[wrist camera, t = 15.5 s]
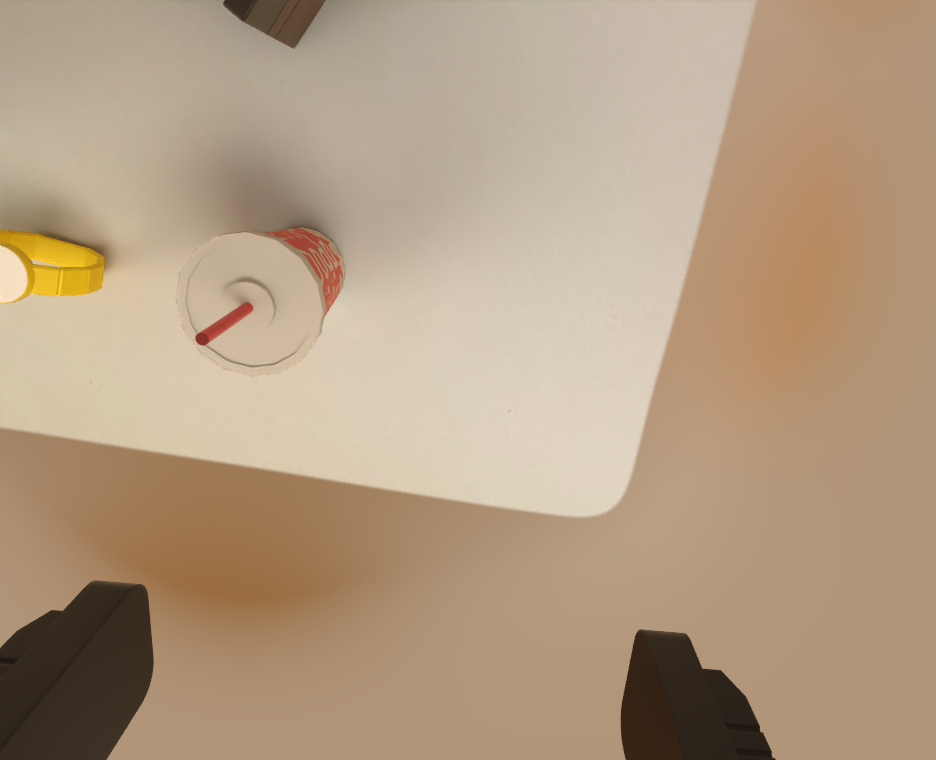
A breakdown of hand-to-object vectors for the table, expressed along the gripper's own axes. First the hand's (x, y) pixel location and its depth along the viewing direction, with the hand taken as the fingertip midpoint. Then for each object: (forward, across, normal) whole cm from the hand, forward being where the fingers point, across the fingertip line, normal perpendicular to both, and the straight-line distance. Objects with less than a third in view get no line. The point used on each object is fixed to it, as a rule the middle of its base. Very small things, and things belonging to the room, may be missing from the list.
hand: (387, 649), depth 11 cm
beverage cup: (+27, +9, -1) cm, 29 cm away
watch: (+27, +21, -1) cm, 35 cm away
